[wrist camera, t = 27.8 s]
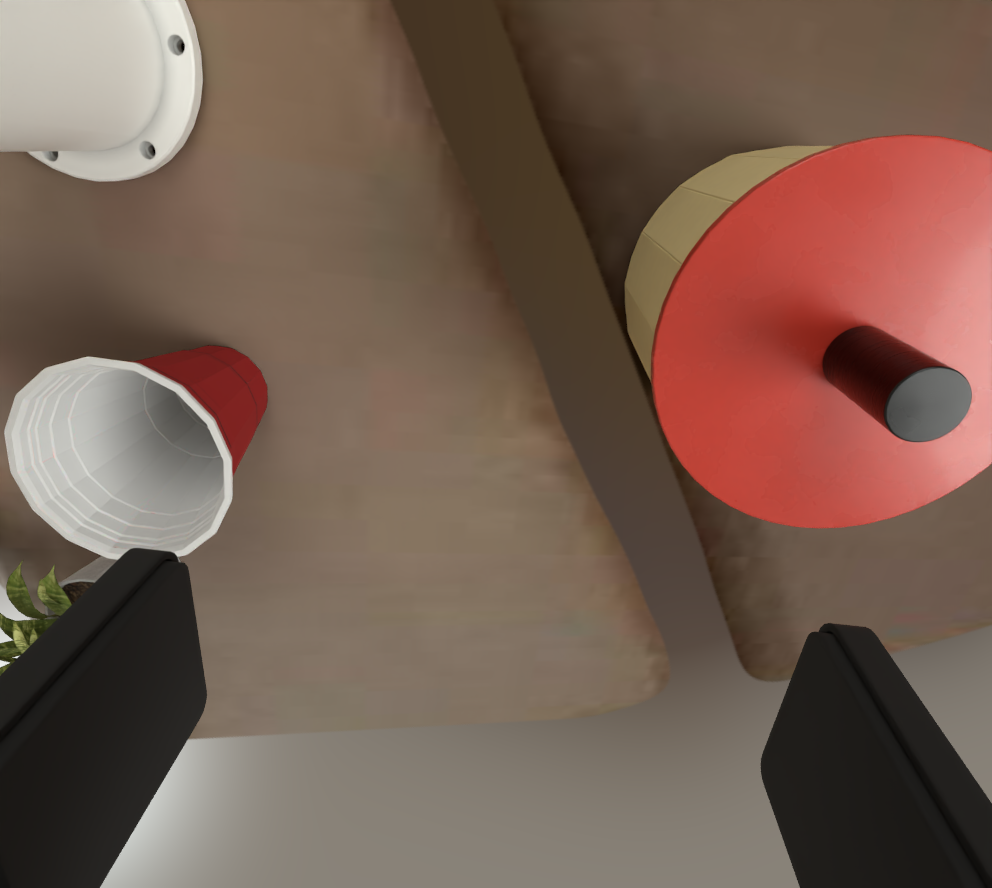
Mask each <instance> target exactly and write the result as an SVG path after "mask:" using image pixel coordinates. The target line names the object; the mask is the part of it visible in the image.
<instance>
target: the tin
mask: <svg viewBox="0 0 992 888" xmlns="http://www.w3.org/2000/svg"><path fill="white" fill-rule="evenodd" d="M831 147H833V146H784V147H778V148H771V149H765V150H756V151H751V152H746V153H740V154H733V155H731V156H728V157H726V158H725V159H723V160H721V161H719V162H717V163H715V164H713V165H711V166H709V167H707V168H705V169H703V170H702V171H700V172H699V173H697V174H696V175H694V176H693V177H691V178H690V179H688V180H687V181H685V182H684V183H683V184H681V185H680V186H679V187H677V188H676V190H675V191H674V192H673V193H672V194H671V195H670V196H669V197H668V198H667V199H666V200H665V201H664V202H663V203H662V204H661V206H660V207H659V208H658V209H657V210H656V212H655V213H654V215H653V216H652V217H651V219H650V220H649V222H648V223H647V225H646V227H645V228H644V229H643V231H642V232H641V235H640V238H639V239H638V242H637V244H636V247H635V249H634V252H633V254H632V257H631V261H630V264H629V268H628V272H627V277H626V280H625V310H626V318H627V331H628V334H629V336H630V339H631V341H632V343H633V345H634V347H635V349H636V351H637V353H638V356H639V358H640V360H641V362H642V364H643V366H644V368H645V370H646V373H647V375H648V377H649V379H650V381H651V352H652V345H653V339H654V333H655V328H656V324H657V321H658V318H659V314H660V311H661V307H662V304H663V302H664V299H665V297H666V295H667V293H668V290H669V288H670V286H671V283H672V281H673V279H674V277H675V275H676V274H677V272H678V270H679V269H680V267H681V265H682V264H683V262H684V260H685V258H686V257H687V255H688V254H689V252H690V251H691V250H692V248H693V247H694V246H695V244H696V243H697V242H698V240H699V239H700V238H701V236H702V235H703V234H704V232H705V231H706V230H707V229H708V228H709V227H710V226H711V225H712V224H713V223H714V222H715V221H716V219H717V218H718V217H719V216H720V215H721V214H722V213H723V212H724V211H725V210H726V209H727V208H728V207H729V206H731V205H732V204H733V203H734V202H735V201H737V200H738V199H739V198H740V197H741V196H743V195H744V194H745V193H746V192H747V191H749V190H750V189H751V188H752V187H754V186H755V185H757V184H758V183H760V182H761V181H763V180H765V179H766V178H768V177H769V176H771V175H772V174H774V173H775V172H777V171H778V170H780V169H782V168H784V167H786V166H788V165H790V164H792V163H794V162H796V161H798V160H800V159H802V158H804V157H806V156H808V155H811V154H814V153H817V152H819V151H822V150H825V149H828V148H831Z"/></svg>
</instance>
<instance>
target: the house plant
mask: <svg viewBox="0 0 992 888" xmlns="http://www.w3.org/2000/svg"><path fill="white" fill-rule="evenodd" d="M178 560H179V558H178ZM22 561H23V560H22ZM116 561H117V559H109V558H106V557H103V556H101V557H99V558H98V559H96V560H94V561H93V562H91V563H90V564H88V565H87V566H85V567H83V568H82V569H80V570H79V571H77V572H76V573H74V574H72V575H71V576H69V577H68V578H66V579H65V580H63V581H61V582H60V583H57V580H56V577H55V574H54V567H55V564H54V566H53V568H52V570H51V571H50V572H49V574H48V575H47V576H46V577H45V578H44V579H43V580H41V579H40V581H39V586H38V597H39V599H40V600H41V601H42V602H43V604H44V605H45V614H46V615H45V614H42V613H40V612H39V611H38V610H37V609H35V608H34V605H33V603H32V601H31V599H30V596H29V593H28V590H27V587H26V585H25V582H24V580H23V578H22V576H21V567H20V566H21V564H22V562H21V563H20V564H19V566H18V567H17V568H16V569H15V571H14V572H13V573H12V574H11V575H10V577H9V578H8V582H7V586H6V589H7V595H8V597H9V600H10V601H11V603H12V604H13V605H14V606H15V607H16V609H17V610H18V611H19V612H21V613H22V614H24V615H25V616H27V617H32V618H37V619H40V620H22V621H14V620H11V619H9V618H6V617H5V616H3V615H2V614H1V613H0V628H1V629H2V630H3V631H4V633H5V634H7V635H8V636H9V637H10V638H11V639H13V641H8V642H4V643H0V660H2V661H6V662H10V663H9V664H7V665H5V666H3V667H1V668H0V675H1V674H2V673H3V672H4V671H5V670H6V669H7V668H8V667H9V666H10V665H11V664H12V663H13V662H14V661H15V660H16V659H17V658H12V657H16V656H20V655H21V654H22V653H23V652H24V651H25V650H26V649H28V648H29V647H30V646H31V645H32V644H33V643H34V642H35V641H36V640H37V639H38V638H39V637H40V636H41V635H42V634H43V633H44V632H45V631H46V630H47V629H48V628H49V627H50V626H51V625H52V624H53V623H54V622H55V621H56V620H57V619H58V618H59V617H60V616H61V615H62V614H63V613H64V612H65V611H66V610H67V609H68V608H69V607H70V606H71V605H72V604H73V603H74V602H75V601H76V600H77V599H78V598H79V597H81V596H82V595H83V594H84V593H85V592H86V591H87V590H88V589H89V588H90V587H91V586H92V585H93V584H94V583H95V582H96V581H97V580H98V579H99V578H100V577H101V576H102V575H103V574H104V573H105V572H106V571H107V570H108V569H109V568H110V567H111V566H112V565H113V564H114V563H115V562H116ZM179 562H180V560H179ZM45 618H47V619H45Z"/></svg>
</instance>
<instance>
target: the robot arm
mask: <svg viewBox="0 0 992 888" xmlns="http://www.w3.org/2000/svg"><path fill="white" fill-rule="evenodd" d="M182 42H184V44H185V50H184V52H183V51H182V49H181V44H182ZM202 84H203V74H202V59H201V51H200V46H199V42H198V37H197V33H196V29H195V25H194V23H193V20H192V17H191V15H190V12H189V10H188V7H187V4H186V2H185V0H0V152H25V151H26V152H28V153H29V154H30V155H31V156H32V157H34V158H36V159H37V160H39V161H41V162H43V163H44V164H46V165H48V166H49V167H51V168H53V169H55V170H57V171H60V172H63V173H65V174H68V175H70V176H73V177H76V178H81V179H86V180H91V181H97V182H99V181H122V180H130V179H136V178H139V177H142V176H144V175H147V174H149V173H152V172H154V171H156V170H157V169H159V168H160V167H162V166H163V165H165V164H166V163H167V162H169V161H170V160H171V159H172V158H173V157H174V156H175V155H176V154H177V152H178V151H179V150H180V149H181V148H182V147H183V146H184V144H185V142H186V140H187V138H188V136H189V135H190V133H191V131H192V129H193V127H194V124H195V121H196V118H197V114H198V111H199V108H200V103H201V94H202ZM153 146H154V148H155V154H154V152H153ZM206 698H207V690H206V684H205V677H204V670H203V664H202V657H201V650H200V643H199V637H198V630H197V623H196V617H195V610H194V603H193V597H192V590H191V583H190V576H189V570H188V567H187V565H186V564H185V563H181V562H179V560H178V557H177V556H176V554H175V553H173V552H171V551H162V550H153V549H144V548H132V549H130V550H128V551H127V552H125V553H124V554H123V555H122V556H121V557H120V558H119V559H118V560H117V561H116V562H115V563H114V564H113V565H112V566H111V567H110V568H109V569H108V570H107V571H106V572H105V573H104V574H103V575H102V576H101V577H100V578H99V579H98V580H97V581H96V582H95V583H94V584H93V585H92V586H91V587H90V588H89V589H88V590H87V591H86V592H85V593H84V594H83V595H82V596H81V597H79V598H78V599H77V600H76V601H75V602H74V603H73V604H72V605H71V606H70V607H69V608H68V609H67V610H66V611H65V612H64V613H63V614H62V615H61V616H60V617H59V618H58V619H57V620H56V621H55V622H54V623H53V624H52V625H51V626H50V627H49V628H48V629H47V630H46V631H45V632H44V633H43V634H42V635H41V636H40V637H39V638H38V639H37V640H36V641H35V642H34V643H33V644H32V645H31V646H30V647H29V648H28V649H26V650H25V651H24V652H23V653H22V654H21V655H20V656H19V657H18V658H17V659H16V660H15V661H14V662H13V663H12V664H11V665H10V666H9V667H8V668H7V669H6V670H5V671H4V672H3V673H2V674H1V675H0V888H100V886H101V885H102V883H103V881H104V879H105V878H106V876H107V874H108V873H109V871H110V869H111V868H112V866H113V864H114V863H115V861H116V859H117V857H118V856H119V854H120V853H121V851H122V849H123V847H124V846H125V844H126V842H127V841H128V839H129V837H130V835H131V834H132V832H133V831H134V829H135V827H136V825H137V824H138V822H139V820H140V819H141V817H142V815H143V813H144V812H145V810H146V809H147V807H148V805H149V804H150V802H151V800H152V799H153V797H154V795H155V794H156V792H157V790H158V788H159V787H160V785H161V783H162V782H163V780H164V778H165V777H166V775H167V773H168V772H169V770H170V768H171V766H172V765H173V763H174V761H175V760H176V758H177V756H178V755H179V753H180V751H181V750H182V748H183V746H184V745H185V743H186V741H187V740H188V738H189V736H190V735H191V733H192V731H193V729H194V728H195V726H196V724H197V723H198V721H199V719H200V717H201V715H202V713H203V711H204V708H205V704H206ZM761 774H762V780H763V783H764V786H765V789H766V792H767V795H768V798H769V800H770V803H771V806H772V809H773V812H774V815H775V818H776V820H777V823H778V826H779V829H780V832H781V834H782V837H783V840H784V843H785V846H786V849H787V852H788V854H789V857H790V860H791V863H792V866H793V869H794V871H795V875H796V877H797V880H798V883H799V886H800V888H992V803H991V802H990V800H989V799H988V798H987V796H986V795H985V793H984V792H983V790H982V789H981V787H980V786H979V784H978V783H977V781H976V780H975V779H974V777H973V776H972V774H971V773H970V771H969V770H968V768H967V767H966V765H965V764H964V763H963V761H962V760H961V758H960V757H959V755H958V754H957V752H956V751H955V749H954V748H953V746H952V745H951V744H950V742H949V741H948V739H947V738H946V736H945V735H944V734H943V732H942V731H941V729H940V728H939V726H938V725H937V723H936V722H935V720H934V719H933V717H932V716H931V714H929V712H928V710H927V709H926V708H925V706H924V704H923V703H922V701H921V700H920V699H919V697H918V696H917V694H916V693H915V691H914V690H913V689H912V687H911V685H910V684H909V683H908V681H907V680H906V678H905V677H904V675H903V674H902V672H901V671H900V669H899V668H898V666H897V665H896V664H895V662H894V661H893V659H892V658H891V656H890V655H889V653H888V652H887V650H886V649H885V648H884V646H883V645H882V643H881V642H880V640H879V639H878V637H877V636H876V635H875V633H874V632H873V631H872V630H871V629H869V628H866V627H859V626H850V625H841V624H832V623H828V624H824V625H823V626H822V627H821V628H820V630H819V632H811V633H810V634H809V635H808V637H807V639H806V642H805V644H804V647H803V649H802V652H801V655H800V657H799V660H798V663H797V665H796V668H795V670H794V673H793V676H792V678H791V681H790V683H789V686H788V689H787V691H786V694H785V696H784V699H783V702H782V704H781V707H780V709H779V712H778V715H777V717H776V720H775V722H774V725H773V728H772V730H771V733H770V736H769V738H768V741H767V744H766V746H765V749H764V751H763V754H762V758H761Z"/></svg>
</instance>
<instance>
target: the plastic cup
mask: <svg viewBox="0 0 992 888" xmlns="http://www.w3.org/2000/svg"><path fill="white" fill-rule="evenodd" d="M266 407H267V385H266V383H265V380H264V378H263V376H262V373H261V371H260V370H259V369H258V368H257V366H256V365H255V364H254V363H253V362H252V361H251V360H250V359H249V358H248V357H247V356H245V355H243V354H241V353H239V352H238V351H236V350H234V349H232V348H227V347H220V346H209V345H208V346H204V347H200V348H196V349H192V350H189V351H188V350H182V351H178V352H173V353H169V354H164V355H160V356H156V357H151V358H147V359H142V360H138V361H133V362H131V361H120V360H112V359H105V358H98V357H84V358H80V359H76V360H73V361H69V362H65V363H61V364H58V365H54V366H50V367H47V368H44V369H43V370H42V371H41V372H40V373H39V374H38V375H37V376H36V377H35V378H34V379H32V380H31V381H30V382H29V383H28V384H27V385H26V386H25V387H24V388H23V389H22V390H21V391H19V392H18V393H17V394H16V396H15V399H14V402H13V405H12V409H11V412H10V415H9V418H8V421H7V424H6V427H5V430H4V434H5V441H6V447H7V453H8V460H9V466H10V472H11V474H12V476H13V477H14V479H15V481H16V482H17V484H18V486H19V488H20V489H21V491H22V493H23V494H24V496H25V498H26V499H27V501H28V503H29V504H30V506H31V508H32V510H33V511H34V512H36V513H37V514H38V515H39V516H40V517H41V518H42V519H44V520H45V521H46V522H47V523H48V524H49V525H50V526H52V527H53V528H54V529H55V530H56V531H57V532H58V533H60V534H61V535H62V536H63V537H64V538H65V539H66V540H68V541H70V542H73V543H75V544H77V545H79V546H81V547H84V548H86V549H88V550H90V551H92V552H95V553H97V554H99V555H101V556H103V557H106V558H109V559H117V560H118V559H119V558H120V557H121V556H122V555H123V554H124V553H125V552H127V551H128V550H130V549H132V548H144V549H153V550H162V551H171V552H173V553H175V554H176V556H177V557H179V556H184V555H188V554H189V553H190V552H191V551H193V550H194V549H195V548H197V547H198V546H199V545H201V544H202V543H203V542H205V541H206V540H207V539H209V538H210V537H211V536H213V535H214V534H215V533H216V532H217V530H218V528H219V526H220V524H221V522H222V520H223V518H224V516H225V514H226V512H227V510H228V507H229V505H230V503H231V501H232V498H233V475H234V473H235V471H236V468H237V466H238V465H239V463H240V461H241V459H242V457H243V455H244V453H245V451H246V449H247V448H248V446H249V444H250V442H251V439H252V437H253V435H254V433H255V431H256V429H257V426H258V424H259V423H260V421H261V418H262V416H263V414H264V412H265V410H266Z"/></svg>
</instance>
